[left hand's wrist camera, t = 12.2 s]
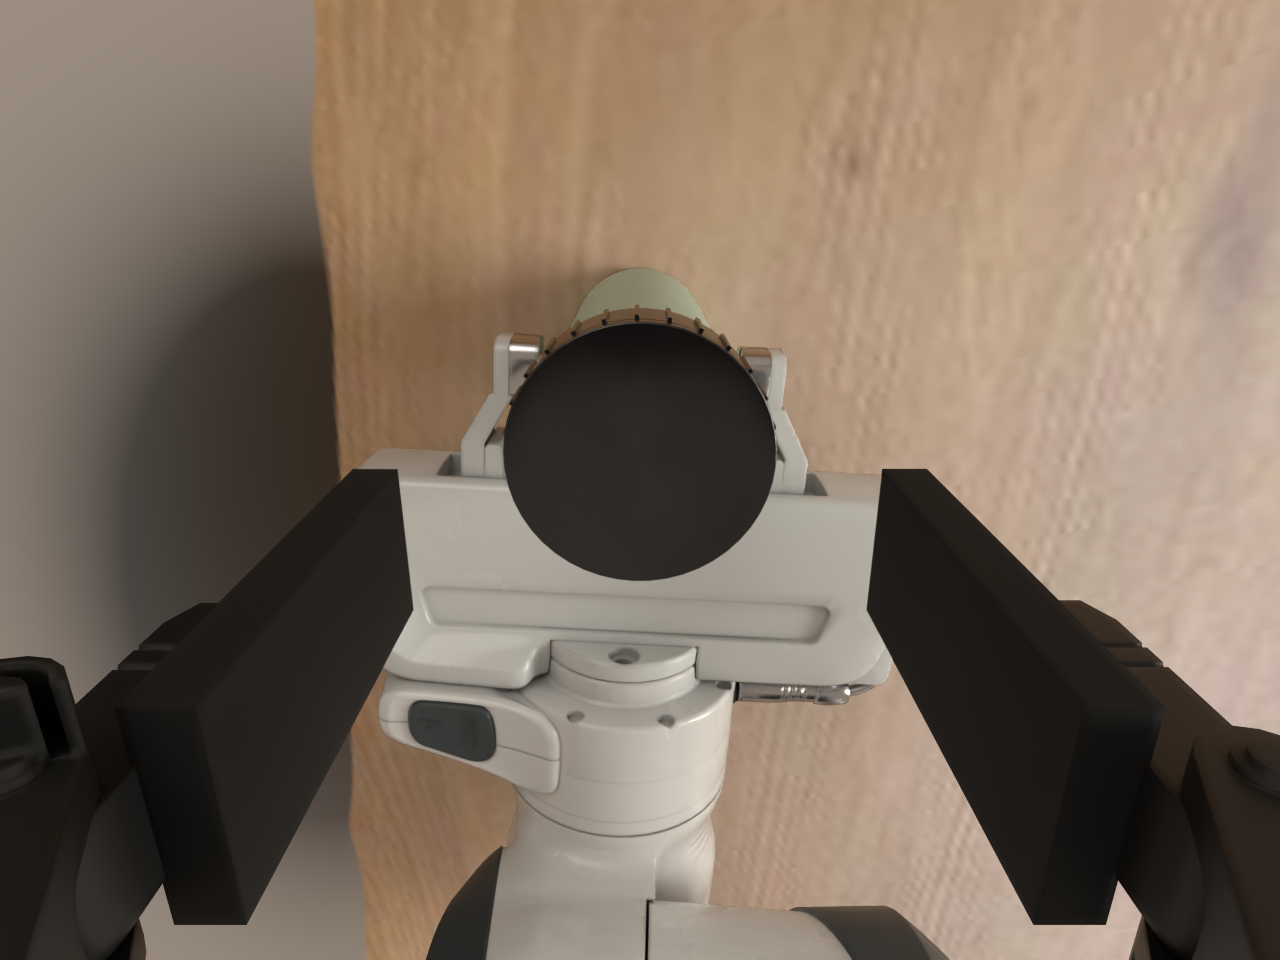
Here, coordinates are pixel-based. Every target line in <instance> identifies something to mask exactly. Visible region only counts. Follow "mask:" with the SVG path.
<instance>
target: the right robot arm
mask: <svg viewBox="0 0 1280 960" xmlns="http://www.w3.org/2000/svg"><path fill="white" fill-rule="evenodd" d="M543 352H544V336H543V335H532V334H519V333H500V334H499V335H498V336H497V337H496V338H495V343H494V351H493V375H494V389H493V390H492V392H491V393H490V395H489V396H488V398H487V400H486V401H485V403H484V405H483V406H482V408H481V410H480V411H479V413H478V415H477V416H476V418H475V419H474V421H473V423H472V424H471V426H470V428H469V429H468V431H467V433H466V434H465V436H464V438H463V439H462V441H461V452H457V451H439V450H421V449H403V448H384V449H380V450H378V451H377V452H375V453H374V454H373V455H372V456H370V457H369V458H368V459H367V460H366V461H365V462H364V463H362V464H361V465H360V466H359V467H358V468H357V469H398V476H399V485H400V494H401V502H402V511H403V520H404V529H405V538H406V546H407V555H408V564H409V573H410V582H411V591H412V599H413V608H414V610H413V612H412V614H411V616H410V618H409V620H408V621H407V623H406V625H405V627H404V629H403V631H402V633H401V635H400V637H399V638H398V640H397V642H396V644H395V646H394V648H393V650H392V652H391V654H390V655H389V657H388V659H387V661H386V663H385V665H384V667H383V669H384V670H386V671H388V674H387V677H386V680H385V683H384V686H383V690H382V693H381V697H380V701H379V708H378V713H379V722H380V726H381V729H382V730H383V732H384V733H385V734H386V735H387V736H388V737H390V738H392V739H393V740H395V741H398V742H400V743H403V744H406V745H409V746H412V747H415V748H419V749H422V750H425V751H429V752H432V753H435V754H438V755H441V756H444V757H447V758H450V759H453V760H456V761H459V762H462V763H465V764H468V765H470V766H473V767H476V768H478V769H481V770H483V771H486V772H488V773H491V774H493V775H495V776H498V777H500V778H502V779H504V780H506V781H508V782H511V783H512V786H513V789H514V792H515V796H516V801H517V808H516V811H515V813H514V816H513V818H512V822H511V825H510V830H509V837H508V846H507V847H503V846H501V847H500V848H498V849H497V850H496V851H494V852H493V853H492V854H491V855H490V856H489V857H488V858H487V859H486V860H485V861H484V862H483V863H482V864H481V865H480V866H479V867H478V869H477V870H476V871H475V872H474V873H473V875H472V876H471V877H470V878H469V879H468V881H467V882H466V883H465V884H464V885H463V887H462V888H461V889H460V890H459V892H458V893H457V894H456V895H455V897H454V898H453V899H452V900H451V902H450V904H449V905H448V907H447V909H446V911H445V913H444V914H443V916H442V918H441V921H440V923H439V925H438V927H437V930H436V932H435V934H434V937H433V940H432V943H431V945H430V948H429V951H428V955H427V958H426V960H949V958H948V957H947V956H946V955H945V954H944V953H943V952H942V951H941V950H940V949H939V948H938V947H937V946H936V945H935V944H933V943H932V942H931V941H930V940H929V939H928V938H927V937H926V936H925V935H924V934H923V933H922V932H921V931H919V930H918V929H917V928H916V927H915V926H914V925H912V924H911V923H910V922H909V921H908V920H906V919H905V918H904V917H903V916H902V915H900V914H899V913H898V912H897V911H895V910H894V909H892V908H890V907H887V906H839V907H796V908H793V909H791V910H789V911H787V910H774V909H761V908H748V907H735V906H722V905H709V904H708V901H709V895H710V889H711V883H712V876H713V868H714V860H715V838H714V831H713V827H712V823H711V819H710V814H711V812H712V810H713V808H714V807H715V804H716V802H717V800H718V798H719V795H720V793H721V789H722V785H723V781H724V776H725V768H726V760H727V751H728V742H729V734H730V726H731V718H732V705H733V703H735V701H746V702H767V703H779V702H788V701H789V702H794V701H800V702H801V701H803V702H813V704H818V705H840V704H845V703H847V702H848V700H849V696H853V695H859V694H861V693H864V692H866V691H868V690H870V689H872V688H874V687H875V686H876V685H879V684H881V683H883V682H884V681H885V679H886V678H887V676H888V674H889V672H890V669H891V664H892V657H891V655H890V654H889V652H888V650H887V648H886V646H885V644H884V642H883V640H882V638H881V637H880V635H879V633H878V631H877V629H876V627H875V625H874V623H873V621H872V620H871V618H870V616H869V614H868V612H867V610H866V608H867V599H868V591H869V582H870V573H871V564H872V555H873V546H874V538H875V529H876V520H877V511H878V502H879V494H880V485H881V476H880V475H875V474H860V473H841V472H823V471H807V467H808V460H807V458H806V456H805V454H804V451H803V449H802V447H801V445H800V442H799V440H798V438H797V436H796V433H795V431H794V429H793V427H792V425H791V422H790V420H789V418H788V416H787V413H786V411H785V410H784V408H783V406H782V402H783V394H784V386H785V378H786V370H787V360H786V354H785V353H784V352H783V351H782V350H781V349H780V348H762V347H738V349H737V353H738V355H739V356H740V357H741V356H742V355H744V357H745V358H746V360H747V361H748V363H749V365H750V366H751V368H752V370H753V371H754V372H753V373H751V374H752V376H753V378H754V379H755V381H759V383H760V384H761V386H762V388H763V389H764V391H765V393H766V394H767V396H768V399H769V400H767V401H766V402H767V404H768V407H769V410H770V412H771V415H772V419H773V421H774V423H775V425H776V430H775V432H776V443H777V459H776V469H775V475H774V480H773V484H772V487H771V490H770V493H769V496H768V499H767V501H766V503H765V505H764V507H763V509H762V511H761V513H760V515H759V516H758V518H757V519H756V521H755V522H754V524H753V525H752V527H751V528H750V529H749V530H748V531H747V533H746V534H745V535H744V536H743V537H742V538H741V539H740V540H739V541H738V542H737V543H736V544H735V545H734V546H733V547H732V548H730V549H729V550H728V551H727V552H726V553H724V554H723V555H721V556H720V557H718V558H717V559H715V560H714V561H712V562H710V563H708V564H707V565H705V566H703V567H701V568H699V569H696V570H694V571H691V572H689V573H686V574H683V575H679V576H675V577H672V578H668V579H661V580H653V581H628V580H619V579H613V578H609V577H604V576H600V575H597V574H594V573H591V572H589V571H586V570H583V569H581V568H579V567H577V566H575V565H573V564H571V563H569V562H568V561H566V560H565V559H563V558H562V557H560V556H559V555H557V554H556V553H554V552H553V551H552V550H551V549H550V548H548V547H547V546H546V545H545V544H544V543H543V542H542V541H541V540H540V539H539V538H538V537H537V536H536V535H535V534H534V533H533V532H532V530H531V529H530V528H529V526H528V525H527V524H526V522H525V521H524V519H523V518H522V516H521V515H520V513H519V511H518V509H517V507H516V505H515V503H514V501H513V498H512V496H511V493H510V490H509V487H508V484H507V480H506V475H505V470H504V460H503V443H504V435H503V431H504V429H505V427H498V428H496V429H495V425H496V423H497V422H498V420H499V418H500V417H501V415H502V413H503V412H504V410H505V408H506V407H507V405H508V403H509V402H510V400H511V399H512V397H513V395H514V394H515V393H516V391H517V389H518V388H519V386H520V385H521V386H522V384H523V382H524V381H525V379H526V378H525V377H523V375H524V374H525V372H526V371H527V369H528V367H529V366H530V364H531V362H532V361H533V359H534V360H536V361H537V360H538V359H539V357H540V356H541V354H542V353H543ZM849 684H854V685H849Z"/></svg>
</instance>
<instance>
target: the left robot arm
mask: <svg viewBox="0 0 1280 960" xmlns="http://www.w3.org/2000/svg"><path fill="white" fill-rule="evenodd" d="M413 610H414V608H413V599H412V591H411V582H410V573H409V564H408V555H407V546H406V538H405V529H404V520H403V511H402V502H401V494H400V485H399V476H398V469H353V470H352V471H351V472H350V473H349V474H348V475H347V476H346V477H345V478H344V479H343V480H342V481H341V482H340V483H339V484H338V485H337V486H336V487H335V488H334V489H333V490H332V491H331V492H330V493H329V494H328V495H327V496H326V497H325V498H324V499H323V500H322V501H321V502H320V503H319V504H318V505H317V506H316V507H315V508H314V509H313V510H312V511H311V512H310V513H309V514H308V515H306V516H305V518H303V520H301V522H299V524H297V525H296V526H295V527H294V529H292V530H291V531H290V532H289V533H288V534H287V535H286V536H285V538H283V539H282V540H281V541H280V542H279V543H278V544H277V545H276V546H275V547H274V548H273V549H272V550H271V551H270V552H269V553H268V554H267V555H266V556H265V557H264V558H263V559H262V560H261V561H260V562H259V563H258V564H257V565H256V566H255V567H254V568H253V569H252V570H251V571H250V572H249V573H248V574H247V575H246V576H245V577H244V578H243V579H242V580H241V581H240V582H239V583H238V584H237V585H236V586H235V587H234V588H233V589H232V590H231V591H230V592H229V593H228V594H227V595H226V596H225V597H224V598H223V599H222V600H221V601H220V602H219V603H200V604H198V605H196V606H194V607H192V608H190V609H189V610H187V611H185V612H183V613H181V614H179V615H177V616H176V617H174V618H172V619H170V620H168V621H166V622H165V623H163V624H162V625H161V626H160V627H159V628H158V629H157V630H156V631H155V632H153V633H152V634H151V635H150V636H149V637H148V638H147V639H146V640H145V641H144V642H143V643H141V644H140V645H139V650H137V651H136V650H134V651H133V652H132V653H131V654H130V655H128V656H127V657H126V658H125V659H124V660H123V661H122V662H121V663H120V664H119V665H118V670H112V671H111V672H110V673H109V674H108V675H107V676H106V677H105V678H104V679H102V680H101V681H100V682H99V683H98V684H97V685H96V686H95V687H94V688H93V689H92V690H91V691H89V692H88V693H87V694H86V695H85V696H84V697H83V698H82V699H81V700H80V701H79V702H78V703H76V704H75V701H74V698H73V695H72V691H71V688H70V685H69V681H68V678H67V674H66V671H65V668H64V666H62V665H61V664H59V663H58V662H56V661H54V660H53V659H51V658H42V657H32V656H25V657H16V658H6V659H0V960H145V957H146V947H145V940H144V934H143V931H142V927H141V924H140V920H139V917H140V916H141V914H142V913H143V911H144V910H145V908H146V907H147V905H148V904H149V902H150V901H151V899H152V898H153V896H154V895H155V894H156V892H157V891H158V889H159V888H160V886H161V885H162V883H163V886H164V890H165V893H166V897H167V900H168V904H169V908H170V911H171V915H172V918H173V922H174V925H247V923H248V921H249V919H250V917H251V915H252V914H253V912H254V910H255V908H256V906H257V904H258V902H259V900H260V898H261V896H262V895H263V893H264V891H265V889H266V887H267V885H268V883H269V882H270V880H271V878H272V876H273V874H274V872H275V870H276V868H277V866H278V865H279V863H280V861H281V859H282V857H283V855H284V853H285V851H286V849H287V848H288V846H289V844H290V842H291V840H292V838H293V836H294V834H295V833H296V831H297V829H298V827H299V825H300V823H301V821H302V819H303V817H304V816H305V814H306V812H307V810H308V808H309V806H310V804H311V802H312V800H313V799H314V797H315V795H316V793H317V791H318V789H319V787H320V785H321V783H322V782H323V780H324V778H325V776H326V774H327V772H328V770H329V768H330V767H331V765H332V763H333V761H334V759H335V757H336V755H337V753H338V752H339V749H340V748H341V746H342V744H343V742H344V740H345V738H346V736H347V735H348V733H349V731H350V729H351V727H352V725H353V723H354V721H355V719H356V718H357V716H358V714H359V712H360V710H361V708H362V706H363V704H364V703H365V701H366V699H367V697H368V695H369V693H370V691H371V689H372V687H373V686H374V684H375V682H376V680H377V678H378V676H379V674H380V672H381V670H382V669H383V667H384V665H385V663H386V661H387V659H388V657H389V655H390V654H391V652H392V650H393V648H394V646H395V644H396V642H397V640H398V638H399V637H400V635H401V633H402V631H403V629H404V627H405V625H406V623H407V621H408V620H409V618H410V616H411V614H412V612H413ZM866 610H867V612H868V614H869V616H870V618H871V620H872V621H873V623H874V625H875V627H876V629H877V631H878V633H879V635H880V637H881V638H882V640H883V642H884V644H885V646H886V648H887V650H888V652H889V654H890V655H891V657H892V659H893V661H894V663H895V665H896V667H897V669H898V670H899V672H900V674H901V676H902V678H903V680H904V682H905V684H906V686H907V687H908V689H909V691H910V693H911V695H912V697H913V699H914V701H915V703H916V704H917V706H918V708H919V710H920V712H921V714H922V716H923V718H924V719H925V721H926V723H927V725H928V727H929V729H930V731H931V733H932V735H933V736H934V738H935V740H936V742H937V744H938V746H939V748H940V750H941V752H942V753H943V755H944V757H945V759H946V761H947V763H948V765H949V767H950V768H951V770H952V772H953V774H954V776H955V778H956V780H957V782H958V784H959V785H960V787H961V789H962V791H963V793H964V795H965V797H966V799H967V800H968V802H969V804H970V806H971V808H972V810H973V812H974V814H975V816H976V817H977V819H978V821H979V823H980V825H981V827H982V829H983V831H984V833H985V834H986V836H987V838H988V840H989V842H990V844H991V846H992V848H993V849H994V851H995V853H996V855H997V857H998V859H999V861H1000V863H1001V865H1002V866H1003V868H1004V870H1005V872H1006V874H1007V876H1008V878H1009V880H1010V882H1011V883H1012V885H1013V887H1014V889H1015V891H1016V893H1017V895H1018V897H1019V898H1020V900H1021V902H1022V904H1023V906H1024V908H1025V910H1026V912H1027V914H1028V915H1029V917H1030V919H1031V921H1032V923H1033V925H1106V922H1107V918H1108V915H1109V911H1110V908H1111V904H1112V900H1113V897H1114V893H1115V890H1116V886H1117V882H1118V881H1119V882H1120V883H1121V885H1122V886H1123V888H1124V889H1125V891H1126V892H1127V894H1128V895H1129V897H1130V898H1131V900H1132V901H1133V902H1134V904H1135V905H1136V907H1137V908H1138V910H1139V911H1140V913H1141V914H1142V917H1141V920H1140V924H1139V927H1138V930H1137V934H1136V937H1135V941H1134V944H1133V947H1132V951H1131V954H1130V957H1129V960H1280V735H1277V734H1274V733H1270V732H1267V731H1264V730H1260V729H1254V728H1246V727H1239V726H1232V725H1231V724H1230V723H1229V722H1228V721H1227V720H1225V719H1224V718H1223V717H1222V716H1221V715H1220V714H1219V713H1218V712H1217V711H1216V710H1214V709H1213V708H1212V707H1211V706H1210V705H1209V704H1208V703H1207V702H1206V701H1205V700H1204V699H1202V698H1201V697H1200V696H1199V695H1198V694H1197V693H1196V692H1195V691H1194V690H1193V689H1192V688H1190V687H1189V686H1188V685H1187V684H1186V683H1185V682H1184V681H1183V680H1182V679H1181V678H1180V677H1178V676H1177V675H1176V674H1175V673H1174V672H1173V671H1172V670H1171V669H1170V668H1169V667H1163V662H1162V661H1161V660H1160V659H1159V658H1158V657H1157V656H1156V655H1154V654H1153V653H1152V652H1151V651H1150V650H1149V649H1148V648H1142V643H1141V642H1140V641H1139V640H1138V639H1137V638H1136V637H1135V636H1134V635H1133V634H1132V633H1130V632H1129V631H1128V630H1127V629H1126V628H1125V627H1124V626H1123V625H1122V624H1121V623H1119V622H1118V621H1117V620H1116V619H1114V618H1112V617H1110V616H1108V615H1106V614H1105V613H1103V612H1101V611H1099V610H1097V609H1095V608H1093V607H1092V606H1090V605H1088V604H1086V603H1084V602H1082V601H1080V600H1058V599H1057V598H1056V597H1055V596H1054V595H1053V594H1052V593H1051V592H1050V591H1049V590H1048V589H1047V588H1046V587H1045V586H1044V585H1043V584H1042V583H1041V582H1040V581H1039V580H1038V579H1037V578H1036V577H1035V576H1034V575H1033V574H1032V573H1031V572H1030V571H1029V570H1028V569H1027V568H1026V567H1025V566H1024V565H1023V564H1022V563H1021V562H1020V561H1019V560H1018V559H1017V558H1016V557H1015V556H1014V555H1013V554H1012V553H1011V552H1010V551H1009V550H1008V549H1007V548H1006V547H1005V546H1004V545H1003V544H1002V543H1001V542H1000V541H999V540H998V539H997V538H996V537H995V536H994V535H993V534H992V533H991V532H990V531H989V530H988V529H987V528H986V527H985V526H984V525H983V524H982V523H981V522H980V521H979V520H978V519H977V518H976V517H975V516H974V515H972V514H971V513H970V512H969V511H968V510H967V509H966V508H965V507H964V506H963V505H962V504H961V503H960V502H959V501H958V500H957V499H956V498H955V497H954V496H953V495H952V494H951V493H950V492H949V491H948V490H947V489H946V488H945V487H944V486H943V485H942V484H941V483H940V482H939V481H938V480H937V479H936V478H935V477H934V476H933V475H932V474H931V473H930V472H929V471H928V470H927V469H882V476H881V485H880V494H879V502H878V511H877V520H876V529H875V538H874V546H873V555H872V564H871V573H870V582H869V591H868V599H867V608H866Z"/></svg>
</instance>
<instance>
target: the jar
mask: <svg viewBox="0 0 1280 960" xmlns="http://www.w3.org/2000/svg"><path fill="white" fill-rule="evenodd" d="M635 305H640V308H652V309H660V310H666V307H667V308H671V312H674V313H678V314H681V315H684V316H686V317H688V318H691V319H693V320H695V318H696V317H697V318H699V319H700V321H701V323H702V324H703V325H705V326H706V327H708V328H709V326H708V324H707V321H706V319H705V317H704V315H703V313H702V311H701V309H700V307H699V305H698V303H697V301H696V300H695V298H694V296H693V295H692V294H691V292H690V291H689V290H688V289H687V288H686V287H685V286H684V285H683V284H682V283H680V282H679V281H678V280H676V279H675V278H673V277H671V276H670V275H668V274H665V273H663V272H660V271H656V270H652V269H644V268H636V269H628V270H624V271H620V272H617V273H615V274H613V275H610V276H609V277H607V278H605V279H604V280H602V281H601V282H600V283H598V284H597V285H596V286H595V287H594V288H593V289H592V290H591V291H590V292H589V294H588V295H587V297H586V298H585V299H584V301H583V303H582V305H581V307H580V309H579V311H578V313H577V315H576V317H575V319H574V321H573V324H572V326H571V328H572V327H573V326H574V324H575V322H576V321H577V320H580V322H582V321H584V320H587V319H589V318H591V317H594V316H596V315H599V314H603V312H604V310H605V309H609V312H610V311H614V310H620V309H627V308H635Z"/></svg>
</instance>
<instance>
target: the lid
mask: <svg viewBox="0 0 1280 960" xmlns="http://www.w3.org/2000/svg"><path fill="white" fill-rule="evenodd" d="M753 372H754V371H753V370H752V368H751V366H750V365H749V363H748V361H747V360H746V358H745V357H744V355H742V356H741V357H740V356H739V355H738V353H737V352H736V351H735V350H734V349H733V348H732V347H731V345H730V344H729V342H728V340H727V338H726V337H725V335H724V334H721V335H720V336H719V335H718V334H717V333H715V332H714V331H713V330H711V329H710V328H708V327H706V326H705V325H703V324H702V323H701V321H700V319H699V318H697V317H696V318H695V320H693V319H691V318H688V317H686V316H684V315H681V314H678V313H674V312H671V308H667V307H666V310H660V309H652V308H640V305H635V308H627V309H620V310H614V311H610V312H609V309H605V310H604V312H603V314H599V315H596V316H594V317H591V318H589V319H587V320H584V321H582V322H580V320H577V321H576V322H575V324H574V326H573V327H572V328H570V329H569V330H567V331H566V332H564V333H563V334H562V335H561V336H559V337H558V338H557V339H555V337H553V338H552V339H551V340H550V342H549V343H548V345H547V347H546V349H545V350H544V352H543V353H542V354H541V356H540V357H539V359H538V360H537V361H536V360H534V359H533V361H532V362H531V364H530V366H529V367H528V369H527V371H526V372H525V374H524V375H523V377H525V378H526V379H525V381H524V382H523V384H522V386H521V385H520V386H519V388H518V389H517V391H516V393H515V394H514V396H513V398H512V399H511V401H510V404H509V405H511V406H512V407H511V409H510V412H509V415H508V418H507V423H506V427H505V429H504V431H503V435H504V443H503V460H504V470H505V475H506V480H507V484H508V487H509V490H510V493H511V496H512V498H513V501H514V503H515V505H516V507H517V509H518V511H519V513H520V515H521V516H522V518H523V519H524V521H525V522H526V524H527V525H528V526H529V528H530V529H531V530H532V532H533V533H534V534H535V535H536V536H537V537H538V538H539V539H540V540H541V541H542V542H543V543H544V544H545V545H546V546H547V547H548V548H550V549H551V550H552V551H553V552H554V553H556V554H557V555H559V556H560V557H562V558H563V559H565V560H566V561H568V562H569V563H571V564H573V565H575V566H577V567H579V568H581V569H583V570H586V571H589V572H591V573H594V574H597V575H600V576H604V577H609V578H613V579H619V580H628V581H653V580H661V579H668V578H672V577H675V576H679V575H683V574H686V573H689V572H691V571H694V570H696V569H699V568H701V567H703V566H705V565H707V564H708V563H710V562H712V561H714V560H715V559H717V558H718V557H720V556H721V555H723V554H724V553H726V552H727V551H728V550H729V549H730V548H732V547H733V546H734V545H735V544H736V543H737V542H738V541H739V540H740V539H741V538H742V537H743V536H744V535H745V534H746V533H747V531H748V530H749V529H750V528H751V527H752V525H753V524H754V522H755V521H756V519H757V518H758V516H759V515H760V513H761V511H762V509H763V507H764V505H765V503H766V501H767V499H768V496H769V493H770V490H771V487H772V484H773V480H774V475H775V469H776V459H777V443H776V432H775V430H776V425H775V423H774V421H773V419H772V415H771V412H770V410H769V407H768V404H767V402H766V401H767V400H769V399H768V396H767V394H766V393H765V391H764V389H763V388H762V386H761V384H760V383H759V381H755V379H754V378H753V376H752V374H751V373H753Z"/></svg>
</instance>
